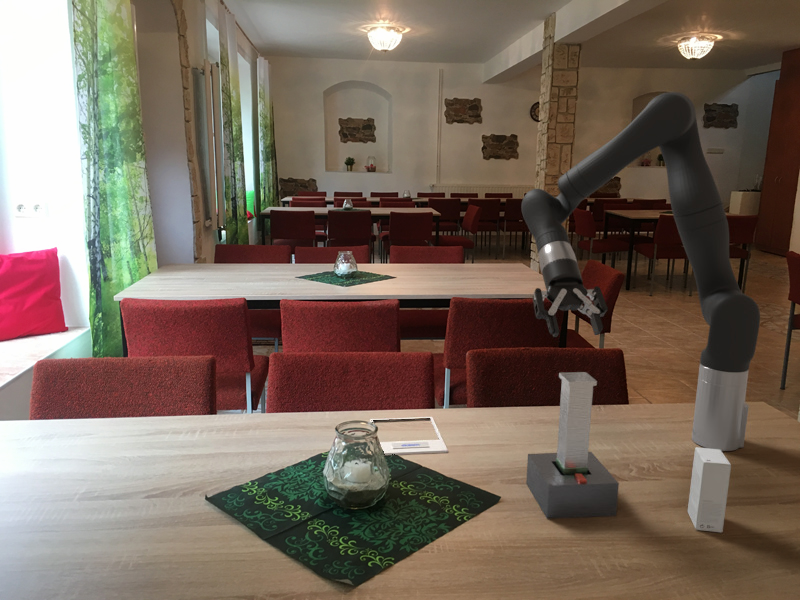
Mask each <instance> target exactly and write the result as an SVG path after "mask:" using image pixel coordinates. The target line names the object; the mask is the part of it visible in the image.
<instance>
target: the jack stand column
mask: <svg viewBox="0 0 800 600" xmlns="http://www.w3.org/2000/svg"><path fill="white" fill-rule="evenodd" d="M558 378H559V379H560V380H561V386H560V387H561V390H560V402H559V414H558V415H559V417H558V432H557V433H558V434H557V446H556V447H557V450H556V453H557V458H556V465H557V466H558V467H559V469H560V470H561V471H562V473H563V474H564V475H575V474H580V473H581V474H587V471H588V468H587V461H588V452H589V447H590V445H589V444H590V434H591V433H590V432H591V420H592V406H593V394H594V387H595V386H597V384H598V381H597V380H596V379H595V378H594V377H593V376H591V375H590V374H589V373H588V372H586V371H577V372H576V371H575V372H570V371H569V372H559V373H558Z"/></svg>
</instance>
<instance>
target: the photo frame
mask: <svg viewBox="0 0 800 600" xmlns="http://www.w3.org/2000/svg"><path fill="white" fill-rule="evenodd" d="M415 418H430V419H429V420H430V423H431V422H432V423H431V425H433V426H432V428H433V427H434V428H433V430H434V429H435V430H434V432H435V434H437V435H436V437H437V438H438V439H425V440H423V439H422V440H421V439H420V440H419V439H418V440H400V441H399V440H398V441H397V440H396V441H379V442H380V444H381V447H382V449H383V451H384V454H385V455H384V456H396V455H397V456H398V455H399V456H400V455H401V456H402V455H417V454H418V455H420V454H421V455H422V454H440V453H448V451H449V450H448V448H447V445H446V443H445V441H444V439H443V437H442V434H441V433H440V429H438V426H437V425H436V422H435V420H434V418H433V416H416V417H412V416H411V417H395V418H394V417H389V418H386V417H385V418H369V423H370V422H373V423H374V421H373V420H389V419H415ZM371 420H372V421H371ZM415 420H416V419H415ZM392 454H393V455H392ZM394 454H395V455H394Z"/></svg>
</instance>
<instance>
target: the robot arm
mask: <svg viewBox="0 0 800 600" xmlns="http://www.w3.org/2000/svg"><path fill="white" fill-rule="evenodd" d="M696 115H697V114H696V107H695V104H694V103H693V101H692V100H691V98H689V96H687V95H686V94H685V93H682V92H677V91H669V92H664V93H661V94H658V95H657V96H655V97H653V98H652V99H651V100H650V101H649V102H648V104H646V105H645V107H644V109H642V110H641V112H640V113H639V114H638V115H637V116H636V117H635V118H634V119H633V120H632V121H631V122H630V123H629V124H628V125H627V126H625V128H624V129H622V130H621V132H619V133H617V135H616V136H614V137H613V138H612V139H610V140H609V141H608V142H607V143H605V144H603V145H602V146H601V147H599V148H598V149H596V150H595V151H593V152H592V153H591V154H590V153H589V154H588V155H587V156H586V157H584V158H583V159H582V160H581V161H580V162H578V163H576V164H575V165H574V166H573V167H572V168H570V169H568V171H566V172H564V174H562V175H561V176H560V177H559V179H558V180H557V187H558V190H559V191H560V193H559V194H558V195H557V196H553V195H552V194H550V193H549V192H547V191H546V190H544V189H541V188H533V189H531V190H529V191H527V192H526V194H524V196H523V198H522V201H521V208H520V209H521V213H522V216H523V220H524V221H525V224H526V225H527V228H528V230H529V232H530V233H531V235H532V236H533V238H534V240H535V246H536V249H537V254H538V261H539V267H540V268H539V269H540V271H541V275H542V278H543V282H544V286H545V287H544V288H545V290H541V288H539V287H536V288H535V290H534V292H533V295H532V303H533V308H534V315H535V318H536V319H538V320H541V319H543V320H545V321H546V325H547V328H548V332H549V334H550V335H552V337H553V338H554V337H555V338H557V337H558V336H559V334H560V328H559V324H558V320H557V316H556V313H557V311H558V310H561V311H562V312H566V311H577V310H578V311H579V312H580V313H581V314H583V315H586V316H587V318H590V320H589V321H590V325H591V327H592V328H591V329H592V332H593V334H594V336H600V334H601V332H602V331H603V329H604V325H603V322H602V319H601V318H602V317H604V316H605V314H606V313H607V311H608V309H609V308H608V305H607V303H606V300H605V298H604V295H603V293H602V290H601V288H600V287H599V286H594V288H589V289H587V288H586V287H585V286H584V283H583V278H582V277H583V276H582V273H581V271H580V268H579V265H578V261H577V257H576V254H575V251H574V250H573V247H572V244H571V242H570V238H569V235H568V232H567V229H566V228H565V227H564V226H563V223H564V222H566V220H567V219H568V218H569V217H570V215H572V213H573V212H574V211H575V210H576V209H577V207H578V206H579V205H580V203H582V201H584V200H585V199H587V198H588V197H589V196H591V195H592V194H594V193H595V192H596V191H597V190H599V189H600V188H602V187H603V186H605V185H606V184H607V183H608V182H609V181H610V180H612V179H613V178H614V177H615V176H616V175H618V174H619V173H620V172H621V171H622V170H624V169H625V168H626V167H627V166H629V165H630V164H631V163H633V162H634V161H636V160H637V159H639V158H640V157H642V156H643V155H645V154H647V153H648V152H650V151H652V150H654V149H656V148H658V147H659V149H660V150H659V151H660V152H661V155H662V157H663V158H662V159H663V162H664V164H665V168H666V174H667V185H668V193H669V200H670V206H671V212H672V216H673V219H674V223H675V224H676V227H677V231H678V235H679V237H680V240H681V242H682V245H683V248H684V251H685V254H686V256H687V259H688V261H689V264H690V266H691V268H692V272H693V274H694V279H695V283H696V284H695V285H696V288H697V293H698V299H699V306H700V310H701V314H702V318H703V320H704V321H705V322H706V324H707V325H708V326H709V330H708V337H707V343H706V344H707V345H706V347H704V348H703V349H702V351H701V352H700V360H699V367H698V368H699V369H698V378H697V385H696V386H697V387H696V395H695V403H694V405H695V406H694V413H693V414H694V415H693V420H692V422H693V423H692V430H691V441H693V442H694V444H697V445H698V446H701V447H702V448H709V449H719V450H721V451H722V452H730V451H735V450H738V449H739V448H744V447H745V446H744V445H745V439H746V431H747V423H748V415H749V409H750V407H749V406H750V405H749V403H747V402H746V395H747V387H748V380H749V379H748V378H749V370H750V364H751V361H752V359H754V355H755V353H756V348H757V342H758V336H759V329H760V323H761V312H760V308H759V306H758V303H757V302H756V300H754V299H753V298H752V297H750V296H749V295H747V294H745V293H743V292H742V291H741V289H740V287H739V286H740V285H739V284H738V281H737V279H736V277H735V274H734V271H733V268H732V264H731V261H730V231H729V230H730V228H729V222H728V218H727V214H726V211H725V208H724V204H723V202H722V197H721V196H720V193H719V190H718V187H717V185H716V182H715V179H714V177H713V174H712V171H711V170H710V168H709V165H708V163H707V160H706V158H705V155H704V152H703V148H702V144H701V143H702V142H701V138H700V137H701V136H700V133H699V128H698V122H697V116H696ZM588 297H589V298H588ZM545 298H546V299H547V300H548V301H549V302H550V304H551V303H552V305H551V307H550V308H549V310H546V309H545V305H544V301H545ZM583 304H584V305H583Z"/></svg>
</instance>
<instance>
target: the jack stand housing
mask: <svg viewBox="0 0 800 600" xmlns="http://www.w3.org/2000/svg"><path fill="white" fill-rule="evenodd" d="M556 458H557V452H550V453H549V452H547V453H546V452H545V453H544V452H543V453H527V463H526V465H527V467H526V483H525V484H526V486H527V487H528V489H529V490H530V492H531V494H532V496H533V498H534V499H535V502H537V504H538V506H539V508H540V510H541V511H542V512H543V515H544V516H545V519H548V520H549V519H563V518H564V519H568V518H570V519H572V517H573V518H594V517H596V518H597V517H615V516H617V510H618V509H617V507H618V497H619V496H618V495H619V485H620V482H619V481H618V480H617V479H616V477H614V475H612V474H611V473H610V471H609V470H608V468H606V467H605V466H604V465H603V464H602V462H601V461H600V460H599V459H598V458H597V456H595V454H594V453H593V452H592V451H588V461H587V468H588V471H587V474H581V473H580V474H575V475H564V474H563V473H562V471H561V470H560V469H559V467H558V466H557V465H556Z"/></svg>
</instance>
